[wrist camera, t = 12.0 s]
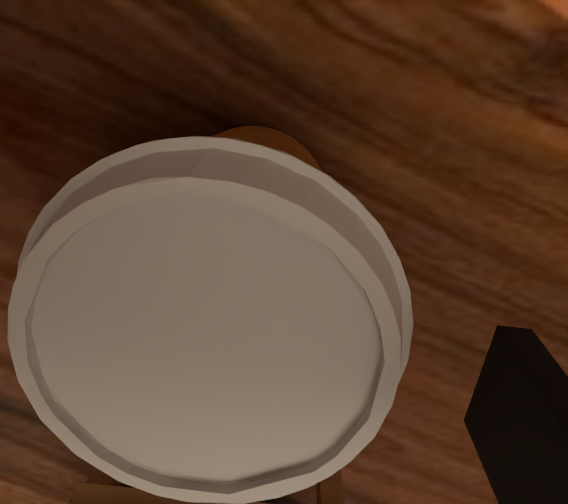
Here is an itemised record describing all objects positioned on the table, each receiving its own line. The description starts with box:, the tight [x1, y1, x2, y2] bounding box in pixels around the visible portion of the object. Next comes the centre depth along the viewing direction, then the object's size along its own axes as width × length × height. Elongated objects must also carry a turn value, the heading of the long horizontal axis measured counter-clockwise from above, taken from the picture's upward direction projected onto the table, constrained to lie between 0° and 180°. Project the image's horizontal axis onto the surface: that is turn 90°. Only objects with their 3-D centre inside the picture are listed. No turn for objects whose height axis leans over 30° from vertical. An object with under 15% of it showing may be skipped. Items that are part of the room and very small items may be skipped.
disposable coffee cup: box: [8, 126, 413, 504], centre depth 16 cm, size 10×10×12 cm
